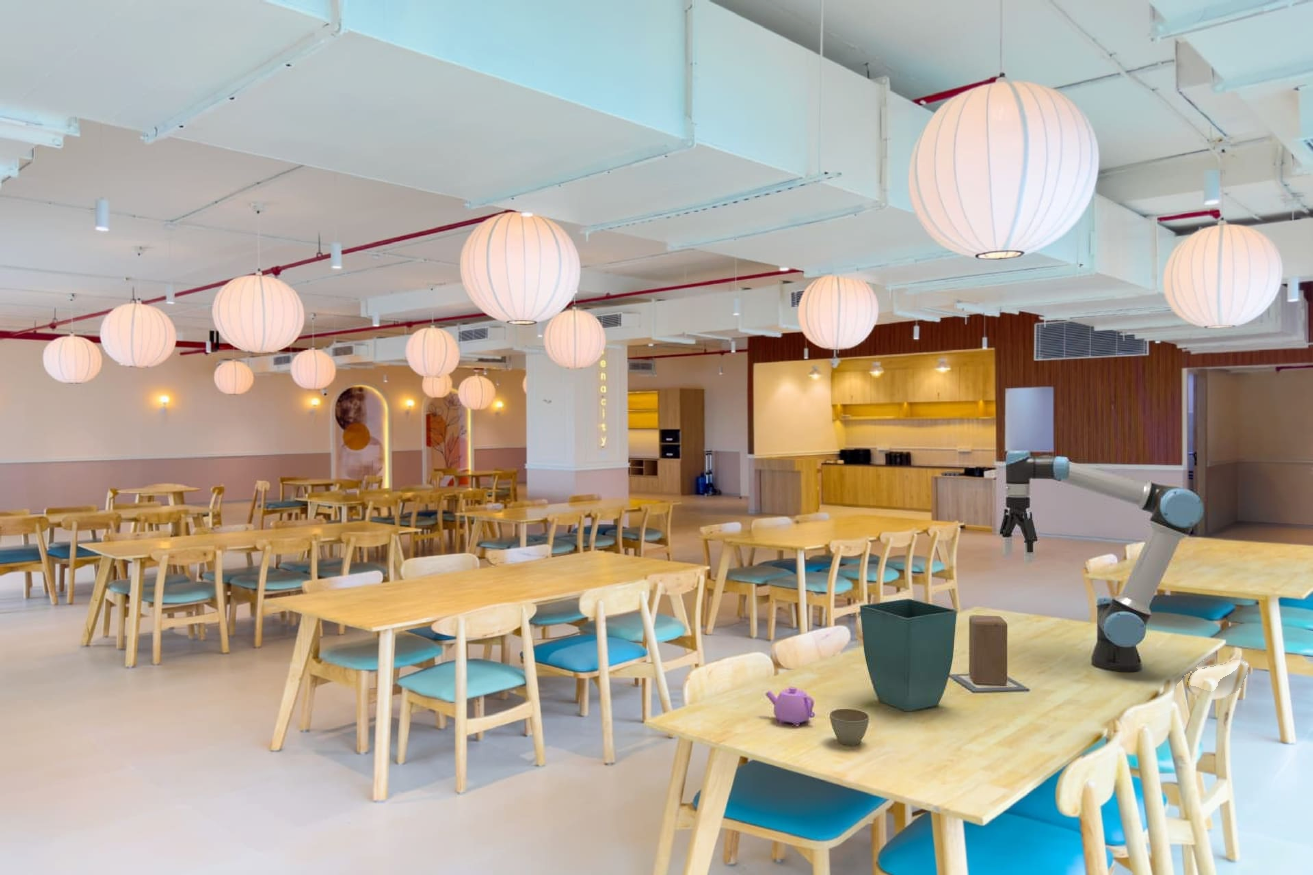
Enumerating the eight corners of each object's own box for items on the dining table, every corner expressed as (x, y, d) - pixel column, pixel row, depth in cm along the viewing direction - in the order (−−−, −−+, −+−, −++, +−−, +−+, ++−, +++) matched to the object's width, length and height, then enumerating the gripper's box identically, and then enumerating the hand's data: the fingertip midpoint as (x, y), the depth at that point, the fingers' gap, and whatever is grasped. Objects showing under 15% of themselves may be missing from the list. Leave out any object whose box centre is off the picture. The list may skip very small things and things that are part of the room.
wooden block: (1007, 686, 269) (1008, 622, 269) (974, 684, 271) (974, 620, 271) (1001, 677, 279) (1001, 615, 279) (968, 675, 281) (968, 614, 281)
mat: (1000, 674, 285) (1000, 672, 285) (1029, 690, 267) (1029, 688, 267) (948, 676, 283) (948, 673, 283) (973, 692, 265) (973, 690, 265)
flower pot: (906, 718, 242) (906, 617, 241) (858, 699, 259) (858, 604, 259) (958, 708, 251) (958, 610, 251) (908, 689, 269) (908, 598, 268)
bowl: (824, 736, 228) (824, 708, 228) (862, 734, 229) (862, 707, 229) (835, 749, 218) (835, 721, 218) (874, 748, 219) (874, 720, 219)
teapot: (806, 731, 232) (806, 696, 232) (756, 720, 241) (756, 686, 241) (823, 720, 240) (823, 687, 240) (774, 710, 249) (774, 677, 249)
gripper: (989, 493, 305) (989, 554, 305) (1026, 499, 280) (1026, 564, 281) (1009, 493, 306) (1009, 553, 306) (1048, 499, 281) (1048, 564, 281)
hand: (1017, 559), depth 293 cm, fingers open, 13 cm apart
